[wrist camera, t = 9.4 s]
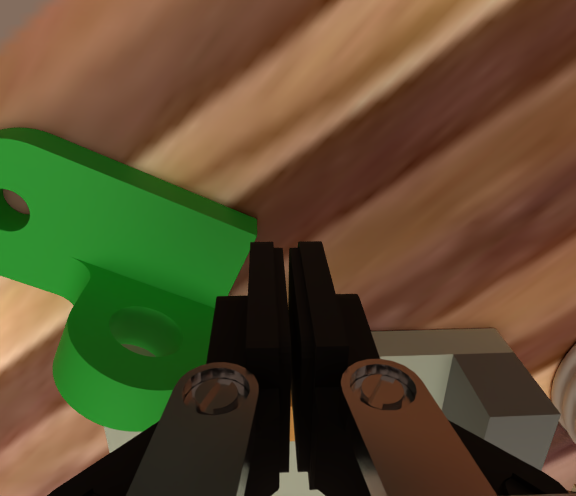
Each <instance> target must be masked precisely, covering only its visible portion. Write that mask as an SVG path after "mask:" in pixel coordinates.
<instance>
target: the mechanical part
mask: <svg viewBox="0 0 576 496" xmlns="http://www.w3.org/2000/svg"><path fill="white" fill-rule="evenodd" d="M3 189H7V190H10V191H13V192H15V193H16V194H18V195H19V196H21V197H22V198H23V199H24V201H25V202H26V203H27V205H28V207H29V211H30V215H29V214H23V213H20V212H17V211H16V210H14V209H13V208H11V207H10V206H9V205H8V203H7V202H6V200H5V198H4V196H3ZM256 237H257V219H255V218H253V217H250V216H248V215H246V214H243V213H241V212H238V211H236V210H234V209H231V208H229V207H226V206H224V205H221V204H219V203H217V202H214V201H212V200H209V199H207V198H205V197H202V196H200V195H197V194H195V193H192V192H190V191H188V190H185V189H183V188H180V187H178V186H176V185H173V184H171V183H168V182H166V181H164V180H161V179H159V178H156V177H154V176H151V175H149V174H147V173H144V172H142V171H139V170H137V169H135V168H132V167H130V166H127V165H125V164H122V163H120V162H118V161H115V160H113V159H110V158H108V157H106V156H103V155H101V154H98V153H96V152H93V151H91V150H89V149H86V148H84V147H81V146H79V145H77V144H74V143H72V142H69V141H67V140H64V139H62V138H60V137H57V136H55V135H52V134H50V133H47V132H44V131H40V130H36V129H30V128H7V129H2V130H0V276H3V277H6V278H9V279H12V280H15V281H18V282H21V283H24V284H27V285H30V286H33V287H36V288H39V289H42V290H45V291H48V292H51V293H54V294H57V295H60V296H62V297H64V298H66V299H67V300H69V301H70V302H71V303H72V304H73V305H74V306H73V308H72V310H71V312H70V314H69V317H68V319H67V322H66V325H65V328H64V331H63V334H62V337H61V340H60V343H59V346H58V349H57V352H56V354H55V358H54V361H53V376H54V381H55V384H56V386H57V388H58V390H59V392H60V394H61V395H62V397H63V398H64V399H65V400H66V402H67V403H68V404H69V405H70V406H71V407H72V408H73V409H74V410H76V411H77V412H78V413H79V414H81V415H83V416H84V417H86V418H87V419H89V420H91V421H93V422H95V423H97V424H99V425H102V426H105V427H108V428H111V429H115V430H121V431H129V432H143V431H144V430H146V429H147V428H149V427H150V426H152V425H153V424H155V423H157V422H158V421H159V420H160V418H161V416H162V413H163V411H164V409H165V407H166V405H167V402H168V400H169V398H170V396H171V393H172V391H173V389H174V387H175V385H176V384H177V382H178V381H179V379H180V378H181V377H182V376H183V375H185V374H186V373H187V372H188V371H190V370H192V369H194V368H196V367H198V366H200V365H205V364H206V361H207V355H208V348H209V342H210V335H211V329H212V322H213V316H214V310H215V303H216V298H217V296H228V294H229V292H230V290H231V288H232V286H233V284H234V282H235V280H236V278H237V276H238V273H239V271H240V269H241V267H242V265H243V263H244V261H245V259H246V257H247V255H248V253H249V251H250V242H254V241H255V239H256ZM121 344H129V345H134V346H138V347H141V348H143V349H146V350H147V351H149V352H151V353H152V354H154V355H155V356H156V357H150V356H145V355H141V354H138V353H135V352H133V351H131V350H129V349H127V348H125V347H124V346H122V345H121Z"/></svg>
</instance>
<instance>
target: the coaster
mask: <svg viewBox="0 0 576 496" xmlns="http://www.w3.org/2000/svg"><path fill="white" fill-rule="evenodd" d="M551 400H552V403H553V404H554V406H555V407H556V408H557V410H558V411H559V412H560V414H561V416H560V419H559V422H560V424H561V425H562V426H563V427H564V428H565V429H566V430H567V431H568V434H569V436H570V437H571V438H572V440H573V441H574V442H575V443H576V344H575V345H574V346H573V347H572V348H571V350H570V351H569V352H568V353H567V355H566V356H565V358H564V359H563V361H562V362H561V364H560V366H559V368H558V370H557V372H556V374H555V377H554V380H553V384H552V390H551Z"/></svg>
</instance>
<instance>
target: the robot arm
mask: <svg viewBox="0 0 576 496" xmlns="http://www.w3.org/2000/svg"><path fill="white" fill-rule="evenodd" d="M291 397H292V410H293V422H294V435H295V447H296V460H297V470H298V472H308V480H309V490H319V491H320V492H321V493H323V494H324V495H325V496H576V484H574V486H573V488H572V491H568V490H566V489H565V488H564V487H563V486H562V485H561V484H560V483H559V482H557V481H556V480H554V479H553V478H551V477H550V476H548V475H547V474H545V473H544V472H542V471H540V470H538V469H537V468H535V467H533V466H531V465H529V464H528V463H526V462H524V461H522V460H520V459H519V458H517V457H515V456H513V455H511V454H509V453H508V452H506V451H504V450H502V449H500V448H499V447H497V446H495V445H493V444H491V443H489V442H488V441H486V440H484V439H482V438H480V437H479V436H477V435H475V434H473V433H471V432H469V431H468V430H466V429H464V428H462V427H460V426H459V425H457V424H455V423H453V422H451V421H450V420H448V419H447V418H446V416H445V415H444V413H443V412H442V410H441V409H440V407H439V406H438V404H437V403H436V401H435V400H434V398H433V397H432V395H431V393H430V392H429V390H428V389H427V387H426V386H425V384H424V383H423V381H422V380H421V379H420V378H419V377H418V375H417V374H416V373H415V372H413V371H412V370H410V369H409V368H407V367H406V366H404V365H402V364H399V363H397V362H394V361H390V360H385V359H380V357H379V354H378V351H377V348H376V345H375V342H374V339H373V336H372V333H371V330H370V328H369V325H368V322H367V319H366V316H365V313H364V310H363V307H362V304H361V301H360V298H359V296H358V295H357V294H335V290H334V286H333V282H332V278H331V275H330V271H329V267H328V263H327V260H326V256H325V252H324V248H323V244H322V242H321V241H315V242H298V248H290V249H289V298H288V303H287V292H286V281H285V270H284V259H283V248H274V246H273V242H250V262H249V284H248V296H217V298H216V303H215V310H214V316H213V322H212V329H211V335H210V342H209V348H208V355H207V361H206V364H205V365H200V366H198V367H196V368H194V369H192V370H190V371H188V372H187V373H186V374H185V375H183V376H182V377H181V378H180V379H179V381H178V382H177V384H176V385H175V387H174V389H173V391H172V393H171V396H170V398H169V400H168V402H167V405H166V407H165V409H164V411H163V413H162V416H161V418H160V420H159V421H158V422H157V423H155V424H153V425H152V426H150V427H149V428H147V429H146V430H144V431H143V432H141V433H140V434H138V435H137V436H135V437H134V438H132V439H131V440H129V441H128V442H126V443H125V444H123V445H122V446H120V447H119V448H117V449H116V450H114V451H113V452H111V453H110V454H108V455H106V456H105V457H103V458H102V459H100V460H99V461H97V462H96V463H94V464H93V465H91V466H90V467H88V468H87V469H85V470H84V471H82V472H81V473H79V474H78V475H76V476H75V477H73V478H72V479H70V480H69V481H67V482H66V483H64V484H63V485H61V486H59V487H58V488H56V489H55V490H54V491H52V492H51V493H50V494H49V495H47V496H272V495H273V494H274V493H275V492H276V491H278V489H279V482H280V473H288V472H289V456H290V407H291Z"/></svg>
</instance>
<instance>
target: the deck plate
mask: <svg viewBox="0 0 576 496" xmlns="http://www.w3.org/2000/svg"><path fill="white" fill-rule="evenodd" d="M371 333H372V336H373V339H374V342H375V345H376V348H377V351H378V354H379V357H380V359H385V360H390V361H394V362H397V363H399V364H402V365H404V366H406V367H407V368H409V369H410V370H412V371H413V372H415V373H416V374H417V375H418V377H419V378H420V379H421V380H422V381H423V383H424V384H425V386H426V387H427V389H428V390H429V392H430V393H431V395H432V397H433V398H434V400H435V401H436V403H437V404H438V406H439V407H440V409H441V410H442V412H443V413H444V415H445V416H446V418H447V419H448V420H450V421H451V422H453V423H455V424H457V425H459V426H460V427H462V428H464V429H466V430H468V431H469V432H471V433H473V434H475V435H477V436H479V437H480V438H482V439H484V440H486V441H488V442H489V443H491V444H493V445H495V446H497V447H499V448H500V449H502V450H504V451H506V452H508V453H509V454H511V455H513V456H515V457H517V458H519V459H520V460H522V461H524V462H526V463H528V464H529V465H531V466H533V467H535V468H537V469H538V470H540V471H541V470H542V467H543V464H544V461H545V458H546V455H547V453H548V450H549V447H550V444H551V441H552V438H553V436H554V433H555V430H556V427H557V424H558V421H559V419H560V416H561V414H560V412H559V411H558V410H557V408H556V407H555V406H554V404H553V403H552V402H551V401H550V399H549V398H548V397H547V395H546V394H545V393H544V391H543V390H542V389H541V387H540V386H539V385H538V384H537V382H536V381H535V380H534V378H533V377H532V376H531V374H530V373H529V372H528V370H527V369H526V368H525V367H524V365H523V364H522V363H521V361H520V360H519V359H518V357H517V356H516V355H515V353H514V352H513V351H512V350H511V348H510V347H509V346H508V344H507V343H506V342H505V340H504V339H503V338H502V336H501V335H500V334H499V333H498V331H497V330H496V329H495V328H480V329H444V330H409V331H374V332H371ZM121 345H122V346H124V347H125V348H127V349H129V350H131V351H133V352H135V353H138V354H141V355H145V356H150V357H156V356H155V355H154V354H152V353H151V352H149V351H147V350H146V349H143V348H141V347H138V346H134V345H129V344H121ZM104 429H105V433H106V438H107V443H108V448H109V452H110V453H111V452H113V451H114V450H116V449H117V448H119V447H120V446H122V445H123V444H125V443H126V442H128V441H129V440H131V439H132V438H134V437H135V436H137V435H138V434H140V433H141V432H129V431H121V430H115V429H111V428H108V427H105V426H104ZM272 496H325V495H324V494H323V493H321V492H320V491H319V490H309V480H308V472H298V470H297V460H296V447H295V435H294V422H293V410H292V397H291V407H290V456H289V472H288V473H280V482H279V489H278V491H276V492H275V493H274V494H273V495H272Z"/></svg>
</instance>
